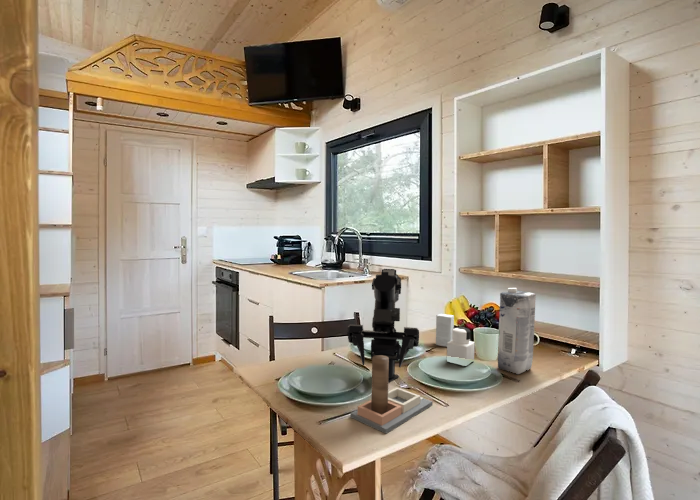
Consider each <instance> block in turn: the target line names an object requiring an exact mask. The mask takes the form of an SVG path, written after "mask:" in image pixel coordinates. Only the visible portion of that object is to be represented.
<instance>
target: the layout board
mask: <svg viewBox="0 0 700 500" xmlns="http://www.w3.org/2000/svg"><path fill="white" fill-rule="evenodd" d="M433 403H434V402H433V400H429V399H426V398H424V397H423V396H422V397H421V395H419V394H416V393H414V392H412V391H411V392H410V391H408V390H406V389H403V388H400V387H397V386H396V387H394V388H392V389H391V390H388V412H386V413H384V414H382V415H381V414H379V413H376V412H374V411H372V410H371V399H370V400H368V401H366V402H364V403H362V404H360V405H358V406H357V409H355V410H354V411H352V412H350V418H352V419H353V420H355V421H358V422H359V423H362V424H364V425H367V426H369V427H371V428H373V429H375V430H378V431H380V432H382V433H384V434H388V433H389V432H391V431H392V430H394V429H396V428H398V427H400V426H401V425H402V424H404V423H406V422H408V421H410V420H411V419H412V418H414V417H416V416H417V415H419V414H421V413H422V412H424V411H426V410H427V409H429V408H430V407H432V406H433Z"/></svg>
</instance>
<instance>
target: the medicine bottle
mask: <svg viewBox="0 0 700 500" xmlns="http://www.w3.org/2000/svg"><path fill="white" fill-rule="evenodd" d="M447 356H451V357H459V358H465V359H473V360H474V361H475V341H472V340H471V330H470V328H468V327H464V326H455V327H454V328H453V329H452V340H451V341H449V342H448V343H447V347H446V357H447Z"/></svg>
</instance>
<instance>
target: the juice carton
mask: <svg viewBox="0 0 700 500" xmlns="http://www.w3.org/2000/svg"><path fill="white" fill-rule="evenodd" d="M536 295H537V294H536V293H534V292H529V291H522V290H521V291H520V290H518V288H517V287H508V288H507V291H505V292H504V291H503V292H500V293H499V296H500V298H499V315H498V316H499V317H498V318H499V320H498V321H499V322H498V341H497V368H498V369H499V368H500V370H502V369H503V371H505V370H507V371H506V372H509V371H510V372H509V373H511V372H513V373H512V374H514V373H516V374H515V375H520V374H522V373H524V372H527V371H529V369H530V370H531V369H532V367H533V366H532V364H533V361H534V360H533V359H534V357H533V356H534V341H535V340H534V339H535V338H534V337H535V323H536V322H535V318H536V300H537V299H536V298H537V296H536ZM526 370H527V371H526Z"/></svg>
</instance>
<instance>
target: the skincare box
mask: <svg viewBox="0 0 700 500" xmlns="http://www.w3.org/2000/svg"><path fill="white" fill-rule="evenodd" d="M435 317H436V318H435V319H436V321H435V322H436V324H435V346H441V347H446V348H447V343H448V342H449V341H451V340H452V329H453V328H455V315H454V314H453V315H452V314H445V313H438V314H437V315H436V316H435Z"/></svg>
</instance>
